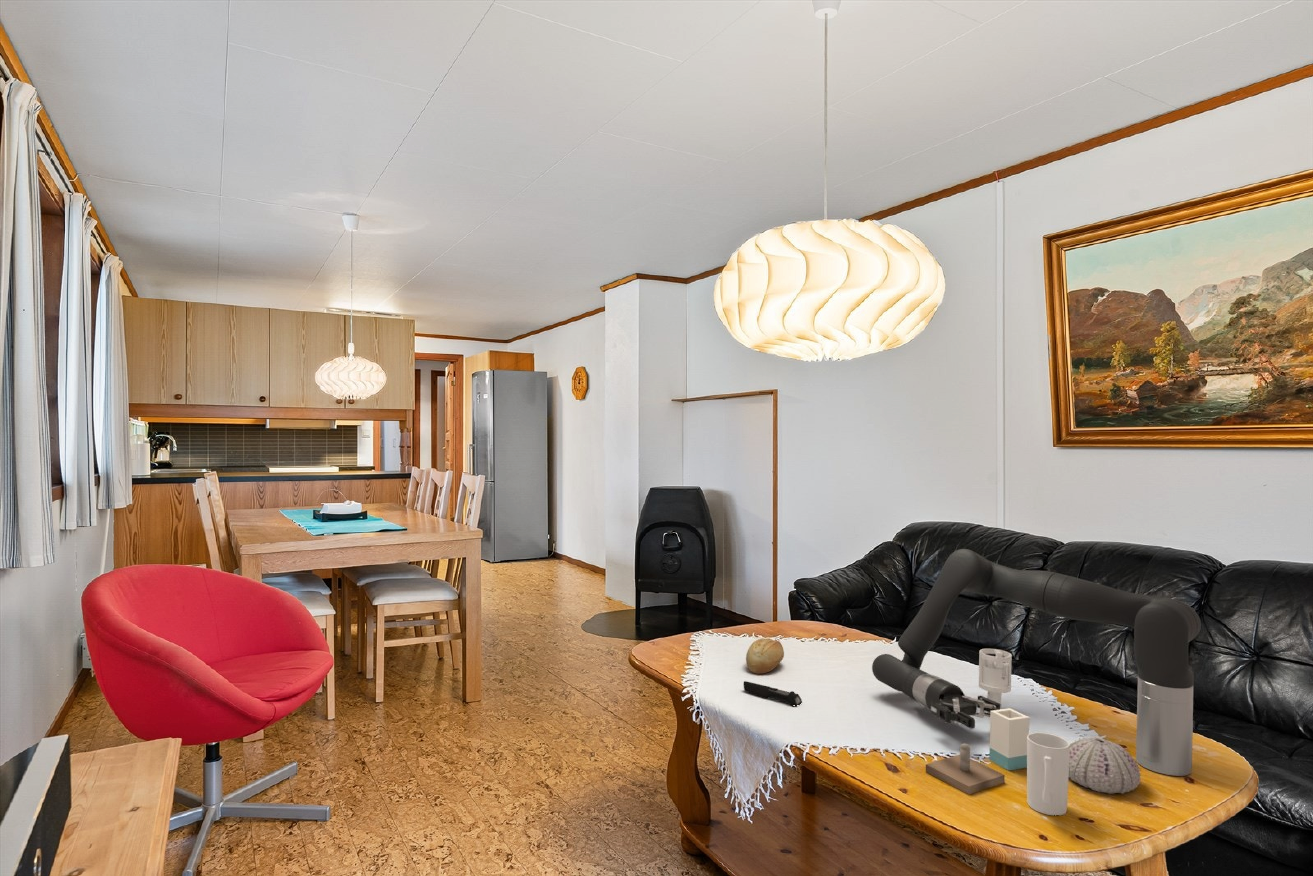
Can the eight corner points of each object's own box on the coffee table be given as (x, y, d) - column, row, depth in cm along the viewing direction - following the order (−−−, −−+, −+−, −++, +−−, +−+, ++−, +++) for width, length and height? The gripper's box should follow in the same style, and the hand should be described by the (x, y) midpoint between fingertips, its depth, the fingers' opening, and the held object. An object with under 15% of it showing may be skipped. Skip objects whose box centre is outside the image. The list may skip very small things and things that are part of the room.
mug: (1026, 794, 138) (1027, 729, 137) (1068, 803, 135) (1069, 737, 134) (1024, 819, 129) (1025, 750, 129) (1068, 829, 126) (1070, 759, 125)
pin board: (960, 761, 151) (961, 729, 151) (1004, 782, 142) (1005, 748, 142) (925, 772, 146) (926, 739, 146) (968, 794, 137) (969, 759, 137)
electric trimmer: (748, 690, 191) (748, 678, 191) (803, 704, 182) (803, 691, 182) (740, 694, 188) (740, 682, 188) (795, 709, 179) (795, 695, 179)
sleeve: (1009, 756, 153) (1009, 708, 153) (1028, 767, 149) (1029, 717, 148) (989, 759, 152) (990, 710, 152) (1008, 770, 147) (1009, 720, 147)
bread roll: (789, 663, 213) (790, 635, 212) (774, 678, 199) (774, 649, 199) (757, 658, 217) (757, 630, 217) (740, 673, 203) (740, 644, 203)
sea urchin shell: (1156, 789, 140) (1157, 747, 140) (1113, 806, 134) (1114, 761, 134) (1087, 761, 152) (1088, 722, 152) (1044, 775, 146) (1045, 734, 146)
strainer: (982, 715, 175) (983, 651, 175) (974, 704, 182) (976, 643, 182) (1014, 717, 174) (1015, 653, 174) (1005, 706, 181) (1006, 644, 181)
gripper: (911, 681, 168) (962, 707, 153) (963, 675, 173) (1018, 700, 157) (911, 714, 168) (962, 744, 153) (963, 708, 173) (1017, 735, 157)
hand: (990, 721), depth 155 cm, fingers open, 8 cm apart
